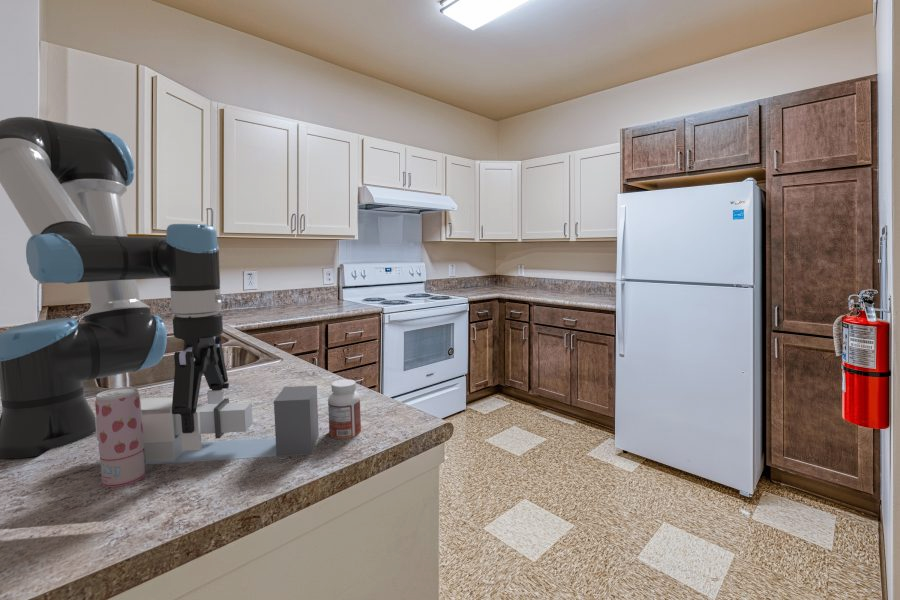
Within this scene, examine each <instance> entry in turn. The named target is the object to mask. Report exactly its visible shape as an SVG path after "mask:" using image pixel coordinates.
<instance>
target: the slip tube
mask: <svg viewBox="0 0 900 600" xmlns="http://www.w3.org/2000/svg"><path fill="white" fill-rule="evenodd" d="M252 405H253V404H252V401H248V402H247V401H246V402H230V398H228V397H226V398H225V397H224V400H223V401H222V402H220V403H219V404H208V403H206V404H205V403H204V404H197V408H196V411H199V413H200V428H201V435H209V434H214V436H215V438H214V439H215V440H216V439H221V438H222V436H224V434H226V433H227V434H229V433H241V432H242V433H245V432H247V430H249V428H250V427H251V425H252V424H253V423H254V422H253V406H252ZM173 420H174V433H175V435H181V422H180V414H173ZM95 425H96V431H95V435H96V436H95V437H96V440H97V441H98V430H97V419H96V416H95Z"/></svg>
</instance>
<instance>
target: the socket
mask: <svg viewBox="0 0 900 600" xmlns="http://www.w3.org/2000/svg"><path fill="white" fill-rule="evenodd" d="M318 404H319V403H318V385H299V386H284V387H283V388H282V390H281V391H280V393H278V395H277V396H276V397H275V398H274V400H273V410H274V432H275V434H274V435H275V438H276V456H275V457H287V456H286V455H290V456H303V455H302V454H306V455H312V454H313V451H314V449H315V447H316V443H317V441H318V438H319V436H318V435H319V434H320V433H319V412H318V410H319V407H318V406H319V405H318ZM314 446H315V447H314Z"/></svg>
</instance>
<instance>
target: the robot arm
mask: <svg viewBox="0 0 900 600" xmlns="http://www.w3.org/2000/svg"><path fill="white" fill-rule="evenodd" d="M134 170H135V162H134V157H133V155H132V153H131V150H130V148H129V145H128V144H127V143H126V142H125V140H124V139H123V138H121V137H120V136H119V135H117V134H115V133H112V132H108V131H104V130H101V129H99V128H93V127H91V128H89V127H82V126H78V125H72V124H68V123H62V122H57V121H51V120H46V119H42V118H39V117H37V118H36V117H33V116H32V117H31V116H17V117H16V116H15V117H7V118H5V119H2V120H0V185H1V186H2V188H3V189H4V191H5V193H6V195H7V196H8V198H9V200H10V201H11V203H12V204H13V206H14V208H15V210H16V211H17V213H18V215H19V216H20V218H21V219H22V221H23V223H24V224H25V226H26V228H27V229H28V231H29V232H30V234H31V236H30V237H29V238H28V240H27V241H26V247H25V248H26V249H25V257H26V264H27V266H28V271H29V273H30V274H31V277H32V278H33V279H34V280H36V281H37V282H40V283H44V284H62V283H63V284H67V285H69V284H76V283H86V285H87V292H88V297H89V302H90V308H89V309H88V310H87V311H86V312H85V313H84V314H83V320H84V323H79V321H77V319H76V318H74V317H61V318H60V317H59V318H54V319H45V320H39V321H33V322H29V323H25V324H19V325H15V326H13V327H9V328H7V329H5V330H3V331H1V332H0V399H1V409H2V410H1V414H0V458H1V459H24V458H32V457H38V456H41V455H43V454H45V453H47V452H48V451H50V450H52V449H57V448H60V447H63V446H66V445H71V444H73V443H76V442H78V441H81V440H83V439H85V438H87V437H89V436H92V434H94V433H96V425H95V417H96V414H95V413H94V412H93V410H92V408H91V406H90V404H89V402H88V401H87V398H86V396H85V392H84V382H85V381H91V380H97V379H102V378H107V377H111V376H117V375H121V374H127V373H131V372H132V373H134V372H139V371H141V370H144V369H149V368H151V367H154V366H156V365H158V364H159V363H160V362H161V360H162V359H163V358H164V354H165V352H166V348H167V341H168V336H167V335H168V334H167V328H166V325H165V322H164V321H163V319H162V318H161V316H159V315H156V314H152V313H151V307H150V306H149V305H148V304H146V303H144V302H142V301H141V298H140V294H139V288H138V282H137V280H156V279H169V285H170V286H169V288H170V289H169V290H170V304H171V305H170V306H171V308H170V309H171V313H172V314H174V315H175V316H173V318H172V329H173V337H175V338H176V339H177V340H183V342H184V343H183V351H175V352H174V353H173V358H174V376H173V386H172V387H173V389H172V390H173V391H172V397H173V400H172V414H180V422H181V436H182V450H183V451H188V450H200V449H201V448H202V443H201V442H202V434H201V428H200V413H199V411H196V408H197V405H198V401H199V397H200V396H199V395H200V390H201V383H202V377H203V376H204V378H205V380H206V384H207V385H208V389H209V390H207V391H206V393H207V395H206V397H207V404H219V403H220V402H222V401H223V400H224V399H225V390H227V389H229V387H230V383H229V382H228V381H229V377H228V373H227V368H226V363H225V362H226V361H225V357H224V353H223V352H224V351H223V347H222V346H223V345H222V343H223V342H222V337H221V335H223V333H224V325H223V315H222V314H221V313H219V312H220V311H221V310H222V300H224V295H223V294H222V293H221V276H220V275H221V273H220V252H219V250H220V247H219V243H218V236H217V234H218V233H217V230H216V228H215V227H214V226H212V225H209V224H202V223H171V224H169V225H168V226H167V228H166V232H165V235H166V236H135V235H134V236H132V235H128V232H127V228H126V227H127V226H126V221H125V217H124V212H123V211H124V210H123V206H122V201H121V197H122V196H123V195H124V194H126V192H127V190H128V189H127V187H128V186H130V185H131V184H132V183H133V180H134V178H135V173H134Z"/></svg>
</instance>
